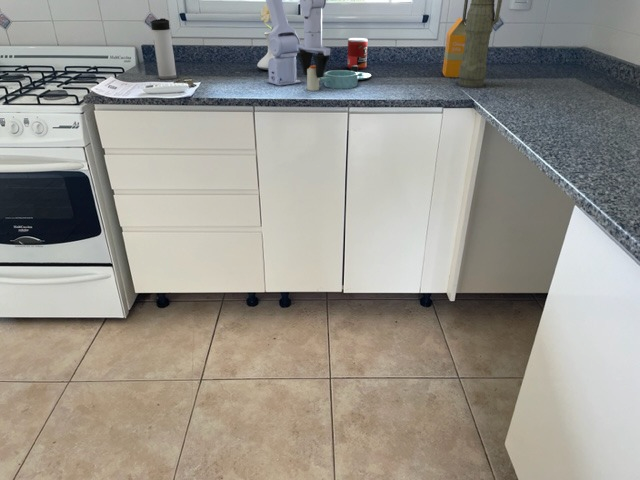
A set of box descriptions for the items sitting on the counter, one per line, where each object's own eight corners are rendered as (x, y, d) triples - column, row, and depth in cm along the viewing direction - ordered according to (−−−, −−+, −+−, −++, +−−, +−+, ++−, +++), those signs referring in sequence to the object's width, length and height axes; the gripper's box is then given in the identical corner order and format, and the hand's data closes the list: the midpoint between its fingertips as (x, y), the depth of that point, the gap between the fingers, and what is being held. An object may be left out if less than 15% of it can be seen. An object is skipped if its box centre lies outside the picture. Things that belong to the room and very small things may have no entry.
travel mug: (179, 76, 184) (171, 18, 174) (173, 79, 178) (164, 20, 169) (163, 75, 185) (154, 18, 175) (156, 79, 179) (147, 19, 169)
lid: (377, 78, 181) (378, 66, 179) (352, 82, 175) (352, 70, 172) (355, 73, 190) (356, 61, 188) (330, 77, 183) (330, 65, 181)
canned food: (359, 70, 196) (360, 40, 191) (343, 67, 201) (344, 39, 195) (369, 67, 202) (371, 38, 196) (353, 65, 206) (354, 37, 201)
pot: (370, 84, 171) (370, 73, 169) (331, 91, 163) (332, 78, 161) (348, 79, 180) (349, 68, 178) (311, 85, 171) (311, 73, 169)
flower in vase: (253, 68, 199) (249, 0, 187) (279, 66, 203) (277, -1, 191) (264, 73, 189) (260, 2, 177) (291, 71, 193) (289, 1, 181)
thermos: (485, 89, 166) (504, -29, 149) (450, 85, 170) (465, -29, 153) (490, 84, 173) (509, -29, 156) (456, 81, 177) (471, -29, 160)
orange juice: (462, 72, 191) (469, 17, 182) (465, 77, 184) (473, 19, 174) (441, 72, 192) (448, 16, 182) (444, 76, 184) (451, 19, 175)
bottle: (311, 91, 162) (311, 67, 159) (305, 89, 165) (304, 65, 161) (321, 89, 164) (321, 66, 161) (314, 87, 167) (314, 64, 164)
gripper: (337, 32, 154) (336, 77, 160) (307, 29, 163) (308, 71, 170) (321, 34, 149) (320, 80, 156) (291, 30, 159) (292, 73, 166)
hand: (313, 75), depth 163 cm, fingers open, 6 cm apart
